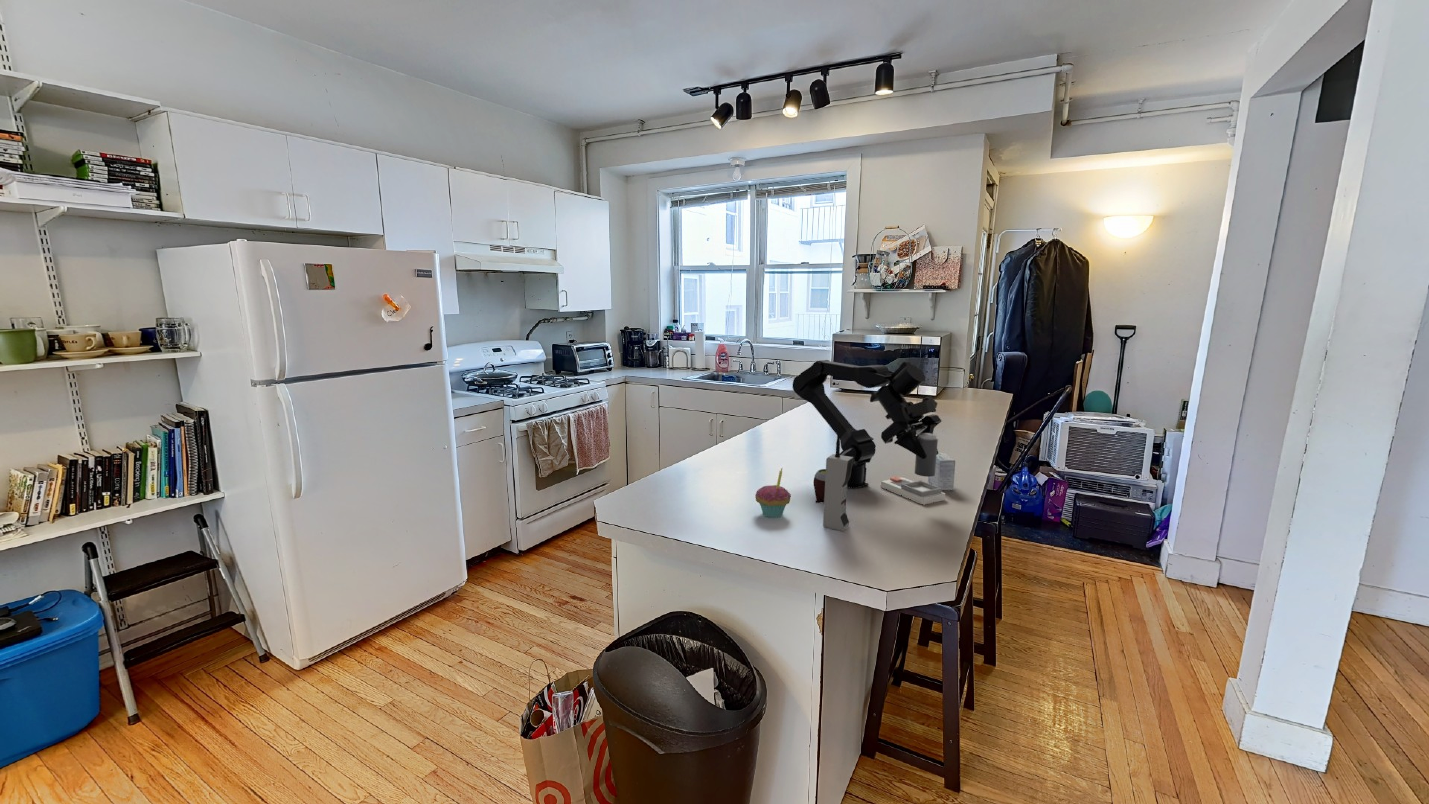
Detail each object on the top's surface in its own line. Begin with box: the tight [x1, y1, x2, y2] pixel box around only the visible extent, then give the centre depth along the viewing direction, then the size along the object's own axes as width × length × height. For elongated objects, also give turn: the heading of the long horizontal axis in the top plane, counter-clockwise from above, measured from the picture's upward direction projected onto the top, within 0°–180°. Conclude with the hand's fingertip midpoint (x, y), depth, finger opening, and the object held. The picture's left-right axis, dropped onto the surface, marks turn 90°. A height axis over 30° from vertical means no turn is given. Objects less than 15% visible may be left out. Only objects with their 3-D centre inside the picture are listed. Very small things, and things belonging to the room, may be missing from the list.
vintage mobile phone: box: [822, 421, 853, 532], centre depth 129 cm, size 4×5×25 cm
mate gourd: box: [813, 448, 852, 504], centre depth 146 cm, size 8×8×15 cm
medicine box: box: [927, 452, 956, 491], centre depth 160 cm, size 8×4×9 cm, turn 179°
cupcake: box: [754, 468, 792, 519], centre depth 138 cm, size 9×8×12 cm
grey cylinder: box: [914, 433, 939, 477], centre depth 142 cm, size 5×5×10 cm
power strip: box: [880, 476, 946, 506], centre depth 154 cm, size 8×15×3 cm, turn 28°
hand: (931, 456), depth 141 cm, fingers closed on grey cylinder, 5 cm apart
